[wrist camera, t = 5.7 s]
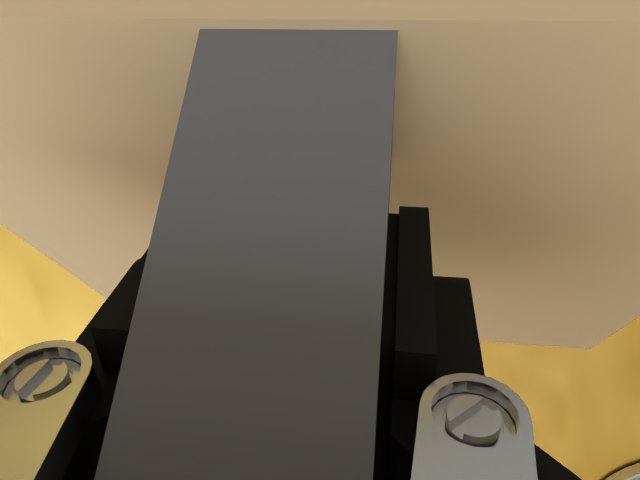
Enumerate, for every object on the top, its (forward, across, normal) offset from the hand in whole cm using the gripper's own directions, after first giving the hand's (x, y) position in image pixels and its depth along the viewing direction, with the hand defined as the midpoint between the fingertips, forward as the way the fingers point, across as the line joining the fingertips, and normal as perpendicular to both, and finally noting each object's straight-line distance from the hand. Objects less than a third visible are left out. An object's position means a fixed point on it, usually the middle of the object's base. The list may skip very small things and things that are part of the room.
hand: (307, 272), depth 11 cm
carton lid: (+5, 0, +2) cm, 6 cm away
